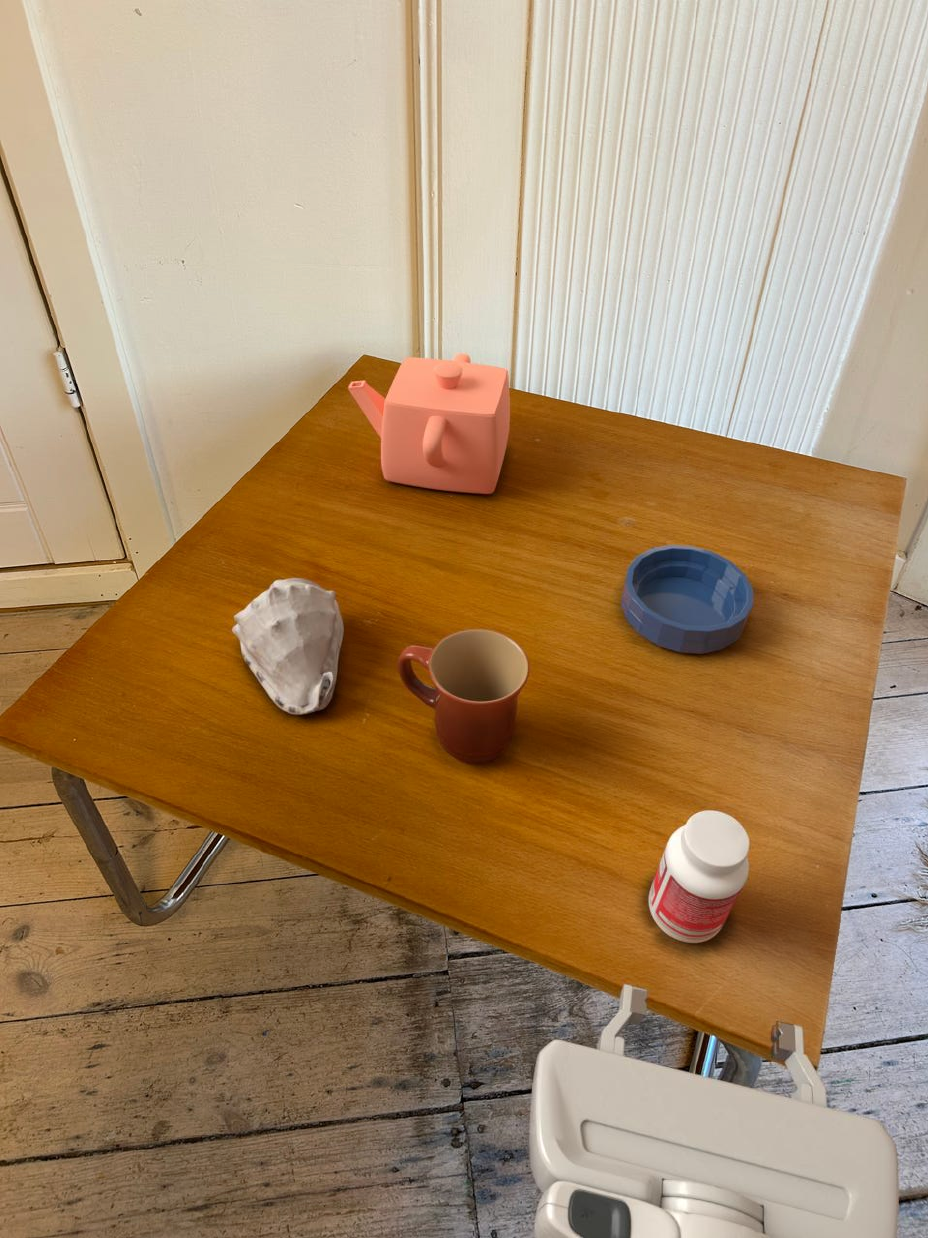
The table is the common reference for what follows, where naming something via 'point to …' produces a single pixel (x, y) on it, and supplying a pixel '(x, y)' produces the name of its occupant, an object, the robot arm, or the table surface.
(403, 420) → the teapot
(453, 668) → the mug
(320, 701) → the seashell
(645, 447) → the table surface
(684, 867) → the pill bottle
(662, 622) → the bowl
